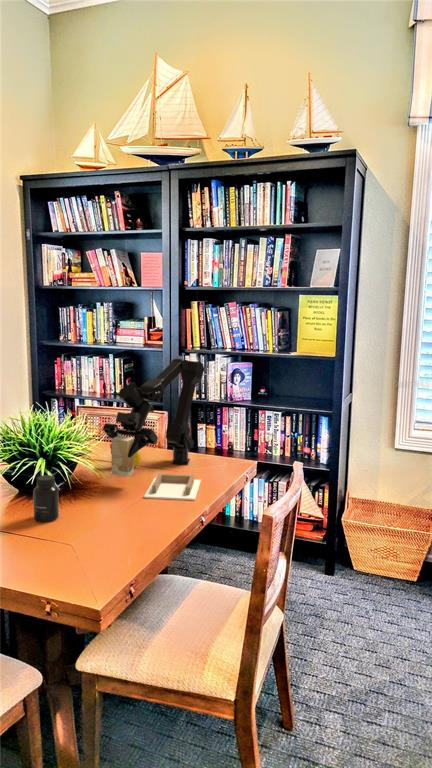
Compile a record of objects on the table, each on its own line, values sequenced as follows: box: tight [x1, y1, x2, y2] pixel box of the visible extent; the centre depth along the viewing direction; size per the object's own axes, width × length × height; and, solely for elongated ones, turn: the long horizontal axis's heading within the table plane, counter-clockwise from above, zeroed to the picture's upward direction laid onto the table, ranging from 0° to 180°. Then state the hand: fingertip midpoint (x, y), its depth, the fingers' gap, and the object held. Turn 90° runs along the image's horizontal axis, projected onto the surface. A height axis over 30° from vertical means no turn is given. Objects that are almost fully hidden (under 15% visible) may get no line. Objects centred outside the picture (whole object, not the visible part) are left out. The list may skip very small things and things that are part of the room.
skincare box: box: [111, 435, 135, 478], centre depth 182 cm, size 6×4×12 cm
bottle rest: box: [143, 473, 202, 501], centre depth 182 cm, size 18×16×3 cm
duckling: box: [109, 442, 142, 467], centre depth 203 cm, size 11×5×10 cm, turn 86°
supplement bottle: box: [32, 474, 60, 524], centre depth 156 cm, size 7×7×12 cm
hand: (120, 455), depth 180 cm, fingers closed on skincare box, 6 cm apart
